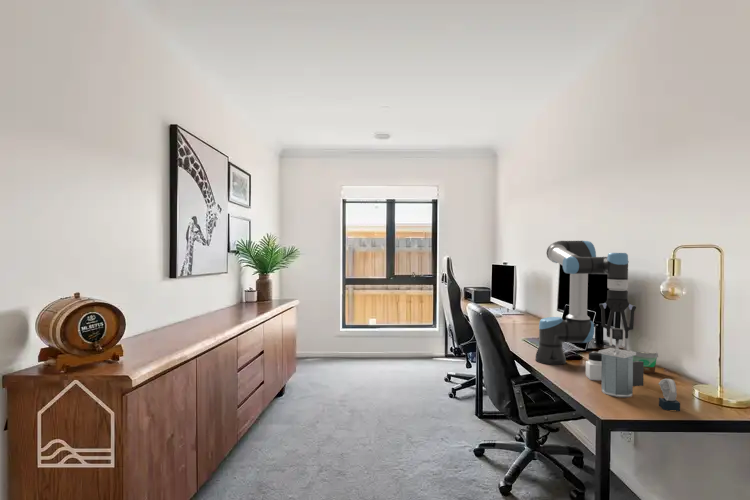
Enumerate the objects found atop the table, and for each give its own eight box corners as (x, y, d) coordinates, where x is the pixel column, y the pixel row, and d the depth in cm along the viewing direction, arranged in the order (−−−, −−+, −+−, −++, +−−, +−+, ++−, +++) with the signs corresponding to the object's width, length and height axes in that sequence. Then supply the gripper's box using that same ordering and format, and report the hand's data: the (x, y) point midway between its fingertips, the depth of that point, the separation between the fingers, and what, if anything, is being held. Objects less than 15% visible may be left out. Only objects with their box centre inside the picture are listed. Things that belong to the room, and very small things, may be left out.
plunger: (611, 380, 188) (611, 326, 188) (632, 385, 181) (633, 329, 181) (601, 384, 183) (601, 328, 183) (622, 389, 176) (623, 331, 176)
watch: (673, 405, 168) (673, 377, 168) (682, 413, 160) (682, 383, 160) (656, 404, 170) (657, 375, 170) (664, 411, 162) (664, 381, 162)
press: (614, 385, 193) (615, 346, 193) (644, 392, 183) (644, 351, 183) (596, 392, 184) (596, 350, 183) (626, 400, 174) (626, 356, 174)
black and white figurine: (606, 381, 199) (606, 354, 199) (589, 380, 201) (589, 353, 201) (601, 376, 206) (601, 351, 206) (585, 375, 208) (585, 350, 208)
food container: (632, 373, 213) (632, 352, 213) (629, 369, 219) (629, 349, 219) (661, 375, 209) (662, 354, 209) (657, 371, 215) (657, 351, 215)
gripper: (595, 289, 182) (594, 345, 182) (642, 291, 175) (642, 349, 175) (594, 288, 189) (593, 341, 189) (639, 289, 182) (639, 345, 182)
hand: (617, 345), depth 182 cm, fingers closed on plunger, 4 cm apart
